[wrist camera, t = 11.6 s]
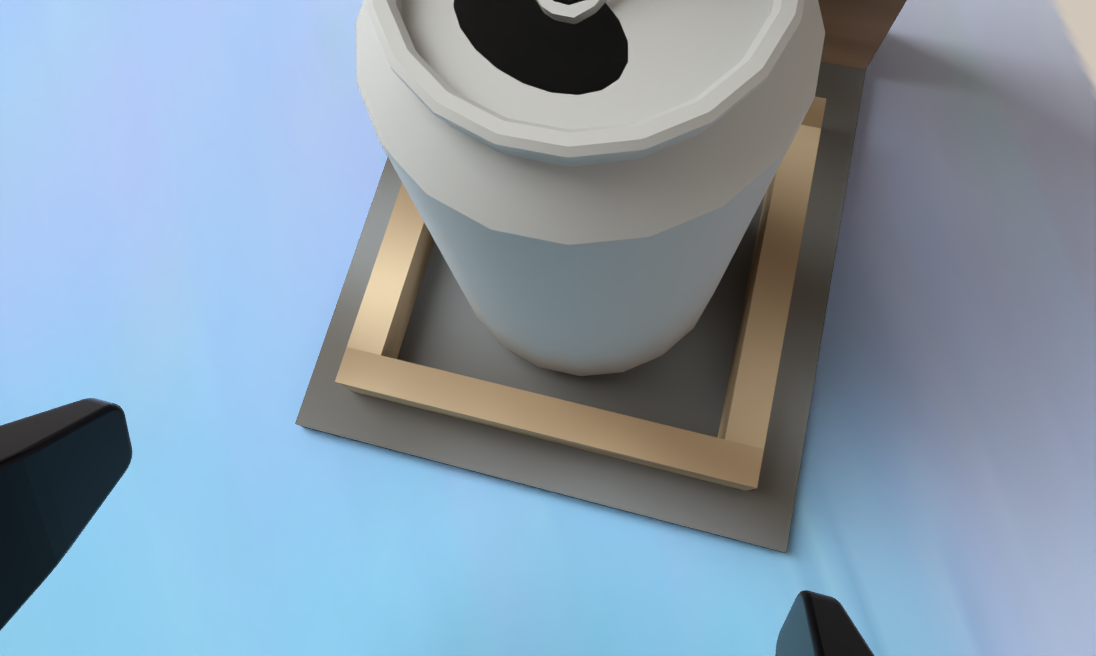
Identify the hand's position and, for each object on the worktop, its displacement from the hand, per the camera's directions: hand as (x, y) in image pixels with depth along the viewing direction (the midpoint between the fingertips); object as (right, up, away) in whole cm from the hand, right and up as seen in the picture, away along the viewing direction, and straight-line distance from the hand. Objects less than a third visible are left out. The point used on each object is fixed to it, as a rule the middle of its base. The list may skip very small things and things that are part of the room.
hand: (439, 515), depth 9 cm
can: (+3, +4, +12) cm, 13 cm away
